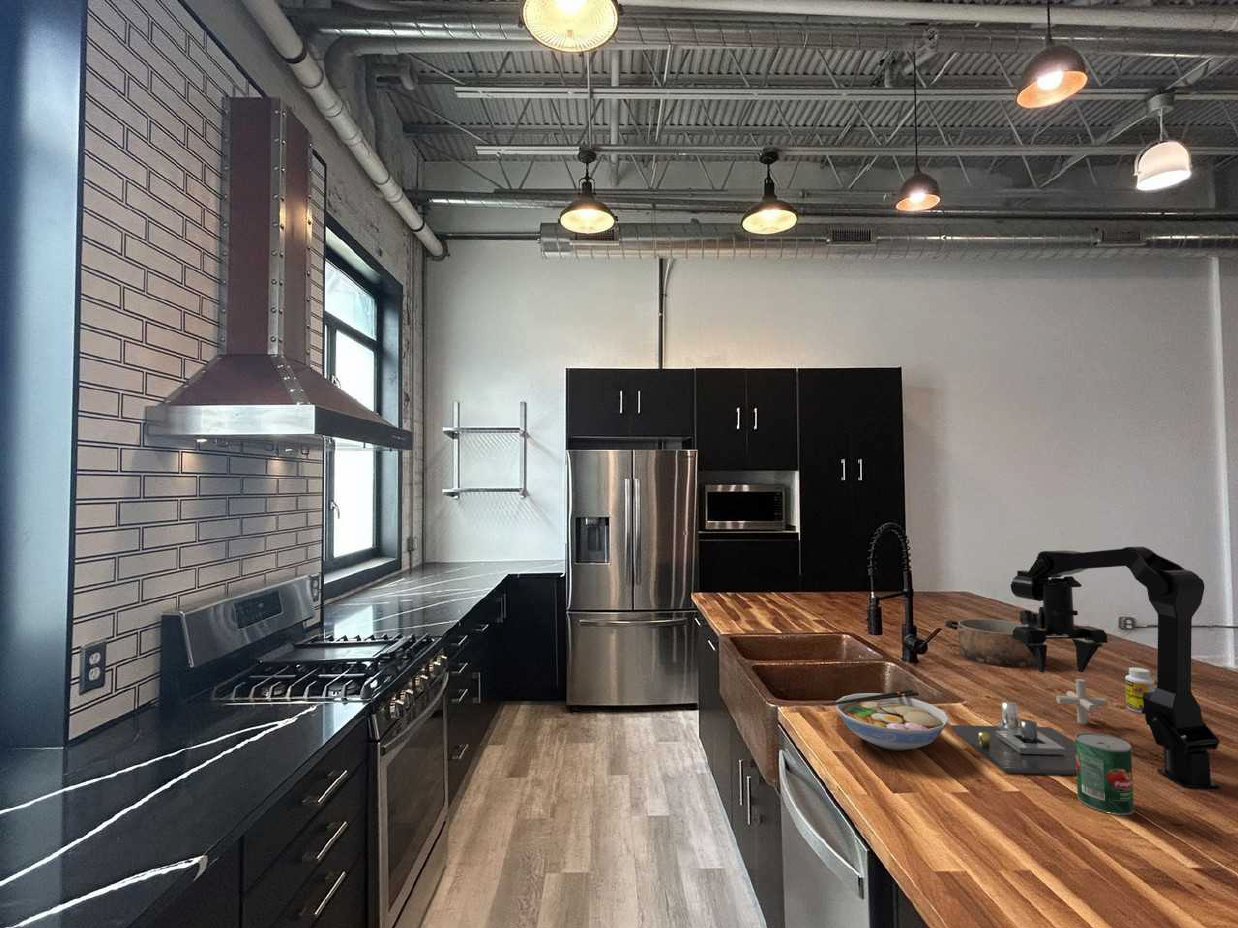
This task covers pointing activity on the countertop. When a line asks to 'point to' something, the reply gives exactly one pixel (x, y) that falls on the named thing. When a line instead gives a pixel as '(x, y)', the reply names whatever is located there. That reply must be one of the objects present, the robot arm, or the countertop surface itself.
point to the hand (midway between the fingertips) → (1061, 672)
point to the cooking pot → (992, 643)
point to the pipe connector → (1081, 701)
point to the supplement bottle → (1137, 688)
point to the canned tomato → (1104, 773)
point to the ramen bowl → (892, 719)
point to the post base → (1014, 761)
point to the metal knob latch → (1013, 734)
